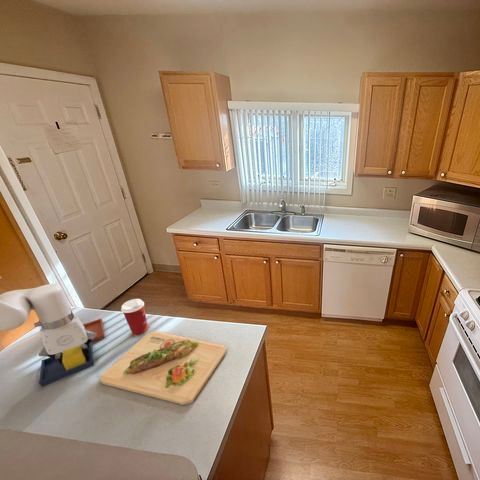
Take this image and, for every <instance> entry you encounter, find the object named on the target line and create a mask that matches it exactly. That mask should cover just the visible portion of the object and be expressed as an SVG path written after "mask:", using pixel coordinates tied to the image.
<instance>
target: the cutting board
mask: <svg viewBox="0 0 480 480" xmlns="http://www.w3.org/2000/svg"><path fill="white" fill-rule="evenodd" d="M227 352H228V349H227V348H226V347H225V345H223V344H219V343H215V342H209V341H204V340H200V339H196V338H191V337H186V336H181V335H176V334H172V333H167V332H163V331H158V330H155V331H150V332H147V333H146V334H145V335H144V336H143V337H142V338H140V340H138V341H137V342H136V343H135V344H133V345H132V347H130V348H129V349H128V350H127V351H126V352H125V353H124V354H123V355H121V356H120V357H119V358H117V360H116V361H114V362H113V363H112V364H111V365H110V366H109V367H108V368H106V369H105V370H104V371H103V372H102V373H101V374H100V375H99V381H100V383H101V384H102V385H105V386H109V387H113V388H117V389H122V390H125V391H129V392H133V393H136V394H139V395H140V394H141V395H144V396H148V397H151V398H156V399H158V400H159V399H160V400H163V401H167V402H171V403H175V404H178V405H181V406H182V405H183V406H184V405H188V404H191V403H194V401H195V399H196V398H197V396H198V395H199V393H200V392H201V391H202V389H203V387H204V386H205V385H206V383H207V382H208V380H209V379H210V377H211V376H212V374H213V373H214V372H215V371H216V369H217V367H218V365H219V364H220V363H221V361H222V360H223V359H224V356H225V355H226V354H227Z"/></svg>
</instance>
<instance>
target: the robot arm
mask: <svg viewBox="0 0 480 480" xmlns="http://www.w3.org/2000/svg"><path fill="white" fill-rule="evenodd" d="M31 311H34V312H35V315H36V316H37V318H38V321H37V322H34V323H33V325H34V327H35V328H37V327H40V328H39V329H40V330H39V331H40V337H41V338H40V339H41V341H42V344H43V346H42V348H41V349H40V351H39V352H38V357H47V358H49V357H53V358H55V359H58V361H59V363H60V364H63V363H62V357H63V351H66V350H68V349H71V348H74V347H77V346H79V345H80V346H81V347H82V352H83V354H84V356H85V358H87V357H88V353H89V349H88V347H87V346H88V345H89V344H90V342H91V341H92V340H93V339H94V338H95V337H96V333H94V332H91V331H88V330H86V329H85V327H84V326H83V324H84V323H83V322H82V320H80V318H79V317H78V316H77V315H75V314H74V313H73V311H72V308H71V306H70V304H69V302H68V298H67V296H66V293H65V291H64V289H63V287H62V286H61V285H60V284H57V283H48V284H44V285H43V284H42V285H40V286H38V287H33V288H25V289H24V288H23V289H14V290H9V291H6V292H3V293H1V294H0V332H7V331H13V330H16V329H18V328H20V327H22V326H23V325H24V324H25V323H26V322H27V321H28V319H29V317H30V313H31ZM87 336H89V337H87ZM63 366H64V365H63Z"/></svg>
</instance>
